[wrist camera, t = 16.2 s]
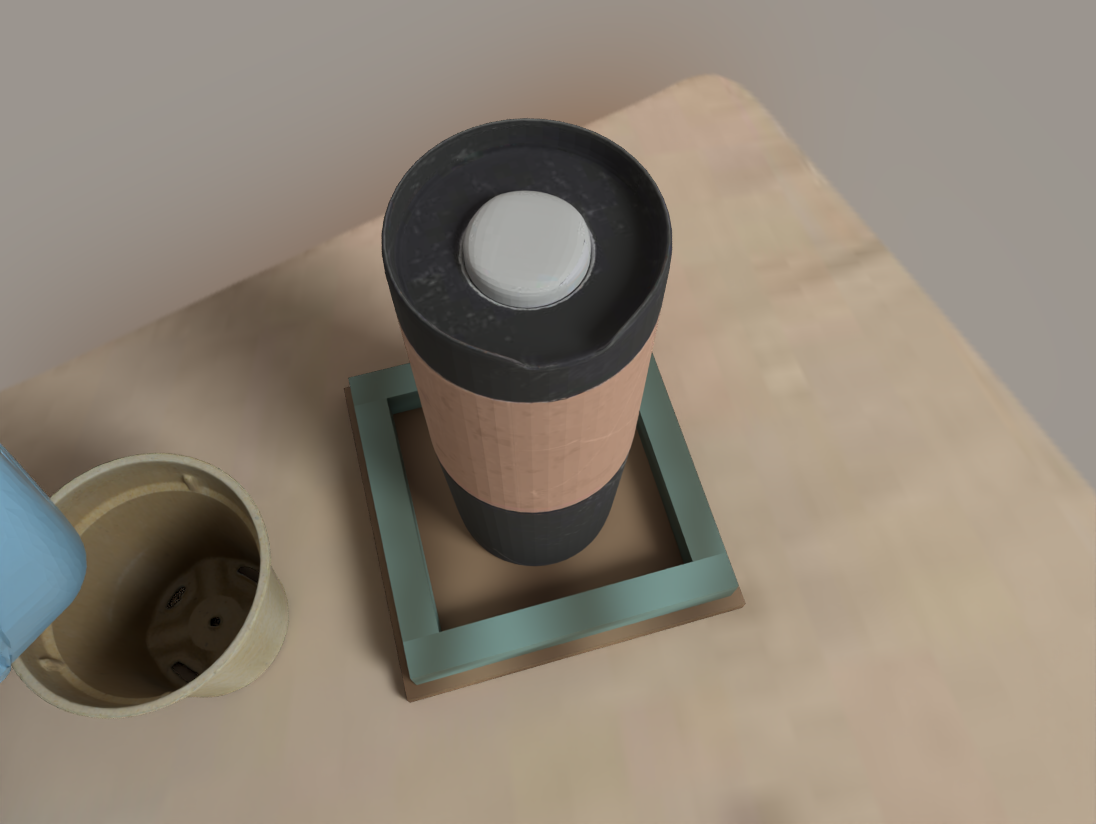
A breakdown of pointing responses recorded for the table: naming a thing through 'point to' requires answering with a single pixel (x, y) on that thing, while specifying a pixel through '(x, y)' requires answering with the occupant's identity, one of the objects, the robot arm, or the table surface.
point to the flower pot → (159, 591)
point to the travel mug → (529, 322)
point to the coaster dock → (530, 591)
